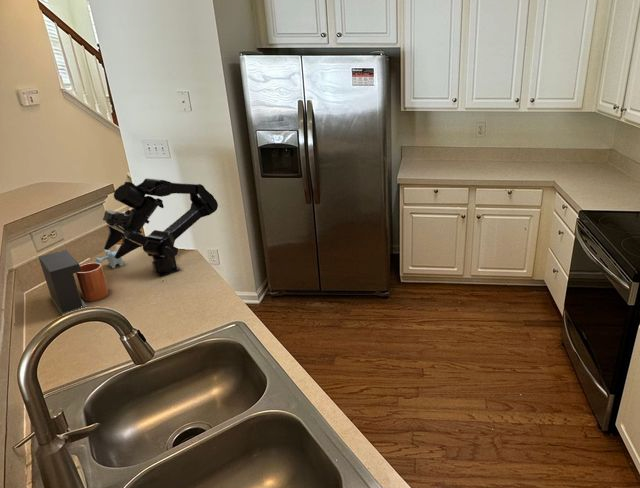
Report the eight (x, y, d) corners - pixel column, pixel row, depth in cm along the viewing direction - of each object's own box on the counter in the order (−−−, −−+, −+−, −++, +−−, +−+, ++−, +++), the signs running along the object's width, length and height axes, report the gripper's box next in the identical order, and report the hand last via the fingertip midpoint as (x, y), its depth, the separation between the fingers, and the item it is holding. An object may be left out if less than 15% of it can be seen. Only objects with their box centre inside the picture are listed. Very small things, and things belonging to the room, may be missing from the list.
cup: (104, 287, 142) (97, 260, 139) (111, 295, 138) (104, 267, 135) (80, 295, 138) (72, 267, 134) (86, 303, 133) (78, 275, 130)
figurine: (97, 268, 154) (93, 253, 152) (122, 261, 160) (119, 246, 158) (101, 272, 152) (97, 256, 150) (126, 264, 158) (123, 249, 155)
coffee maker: (78, 291, 140) (66, 249, 135) (91, 307, 132) (79, 263, 126) (51, 299, 135) (38, 256, 130) (63, 316, 127) (49, 272, 121)
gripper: (107, 194, 141) (75, 234, 137) (129, 207, 130) (95, 252, 126) (138, 210, 149) (109, 249, 146) (161, 224, 138) (130, 266, 135)
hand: (110, 253), depth 138 cm, fingers open, 9 cm apart
